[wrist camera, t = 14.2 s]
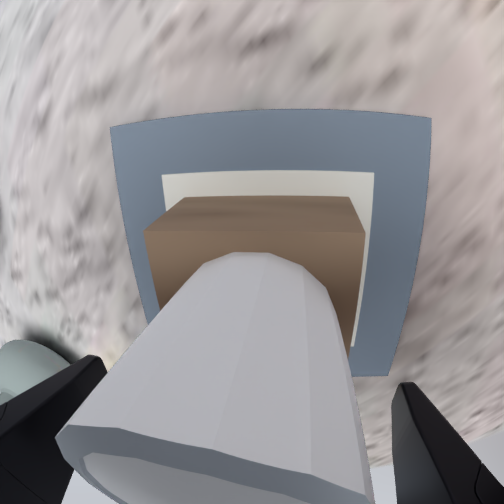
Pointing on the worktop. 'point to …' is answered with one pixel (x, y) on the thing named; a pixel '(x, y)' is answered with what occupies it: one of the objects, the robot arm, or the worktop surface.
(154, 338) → the white cup
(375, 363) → the board
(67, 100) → the worktop surface
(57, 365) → the air freshener
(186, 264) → the walnut block
